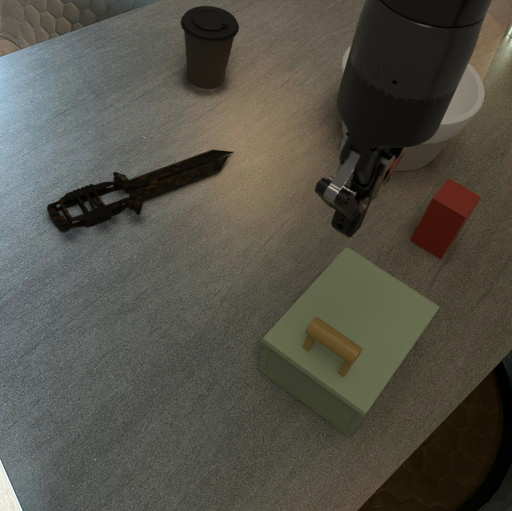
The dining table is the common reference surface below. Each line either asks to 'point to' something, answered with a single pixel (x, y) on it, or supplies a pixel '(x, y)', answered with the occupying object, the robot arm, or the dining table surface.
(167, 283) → the dining table surface
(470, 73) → the bowl
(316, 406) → the chest
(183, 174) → the knife
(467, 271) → the dining table surface
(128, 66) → the dining table surface
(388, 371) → the lid
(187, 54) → the coffee cup
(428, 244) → the block
